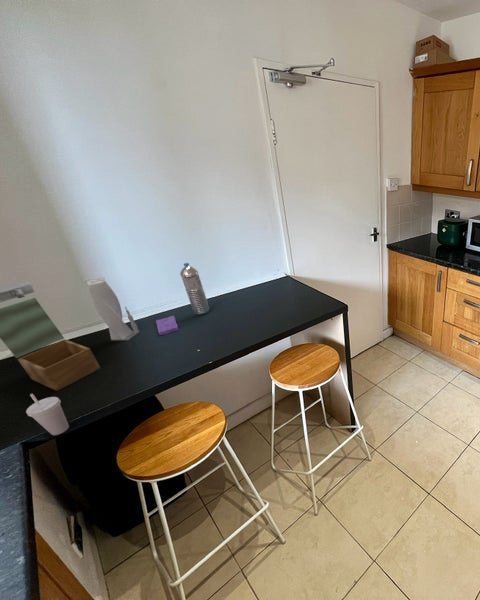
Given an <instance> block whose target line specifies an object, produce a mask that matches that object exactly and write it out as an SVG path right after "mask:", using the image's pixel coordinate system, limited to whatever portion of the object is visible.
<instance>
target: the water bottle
mask: <svg viewBox="0 0 480 600" xmlns="http://www.w3.org/2000/svg"><path fill="white" fill-rule="evenodd" d="M179 274H180V277H181V280H182V282H183V285H184V288H185V291H186V295H187V299H188V301H189V304H190V307H191V310H192V312H193V314H194V315H196V316H203V315H207V314H208V313H209V312H210V311H211V308H210V305H209V303H208V299H207V296H206V292H205V289H204V286H203V285H202V282H201V278H200V275H199V270H198V269H196V267H193V266H190V263H189V262H184V263H183V268H182V269H181V271H180V273H179Z"/></svg>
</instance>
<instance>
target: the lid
mask: <svg viewBox="0 0 480 600" xmlns="http://www.w3.org/2000/svg"><path fill="white" fill-rule="evenodd" d="M64 339H65V336H64V335H63V334H62V332H61V331H60V330H59V328H58V327H57V326H56V325H55V323H54V321H53V320H52V319H51V318H50V317H49V315H48V313H47V312H46V310H45V309H44V308H43V307H42V305H41V304H40V302H39V301H38V299H37V298H36V297H33V298H30V299H26V300H23V301H19V302H17V303H13V304H10V305H7V306H4V307H0V340H1V341H2V342H3V344H4V346H6V348H7V349H8V350H9V351H10V353H12V355H13V356H14V357H15V359H19V358H21V357H23V356H26V355H28V354H31V353H33V352H35V351H38V350H40V349H43V348H45V347H47V346H50V345H52V344H54V343H57V342H59V341H62V340H64Z"/></svg>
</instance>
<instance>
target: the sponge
mask: <svg viewBox="0 0 480 600" xmlns="http://www.w3.org/2000/svg"><path fill="white" fill-rule="evenodd" d="M155 324H156V327H157V331H158V334H159V336H163V335H167V334H170V333H173V332H177V331H179V329H180V328H179V326H178V324H177V320H176V317H175V316H174V315H171V316H168V317H164V318H161V319H156V320H155Z"/></svg>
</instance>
